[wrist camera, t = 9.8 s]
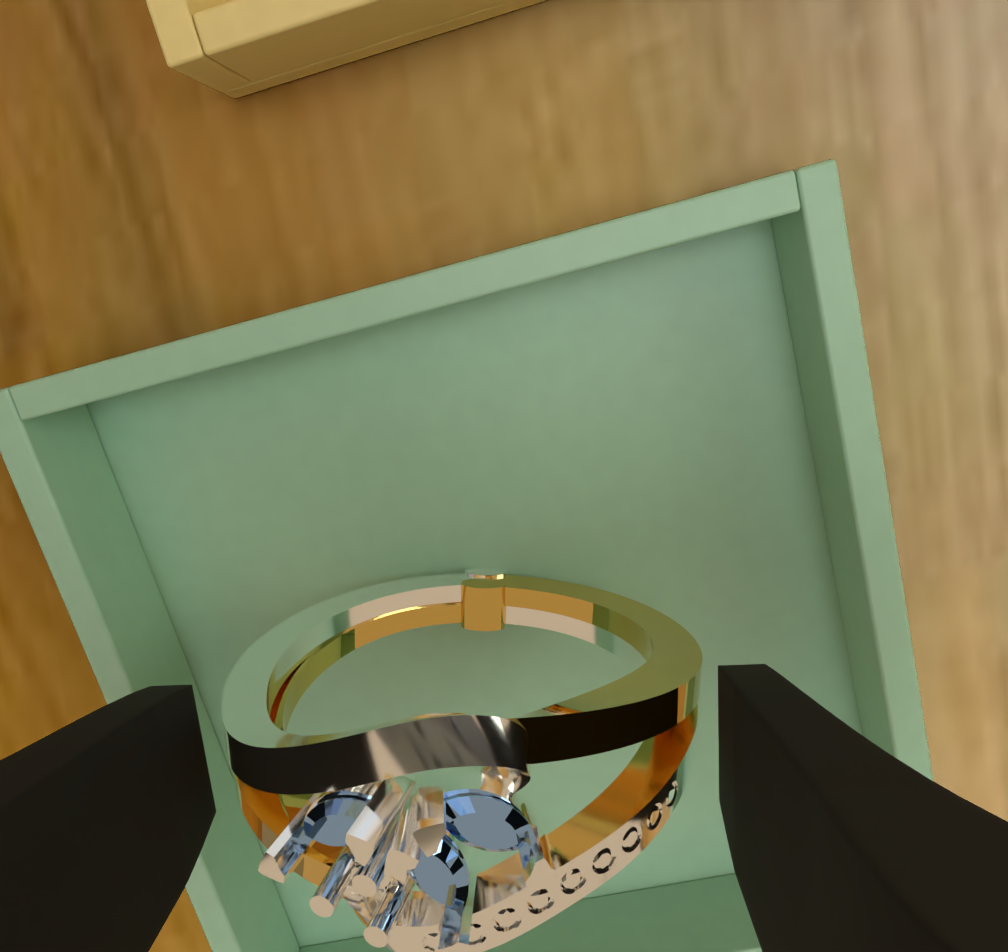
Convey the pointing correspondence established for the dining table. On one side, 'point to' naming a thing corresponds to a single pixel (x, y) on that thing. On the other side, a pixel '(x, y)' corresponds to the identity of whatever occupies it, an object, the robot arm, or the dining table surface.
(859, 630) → the green tray
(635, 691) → the ring
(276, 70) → the yellow tray
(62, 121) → the dining table surface
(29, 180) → the dining table surface
